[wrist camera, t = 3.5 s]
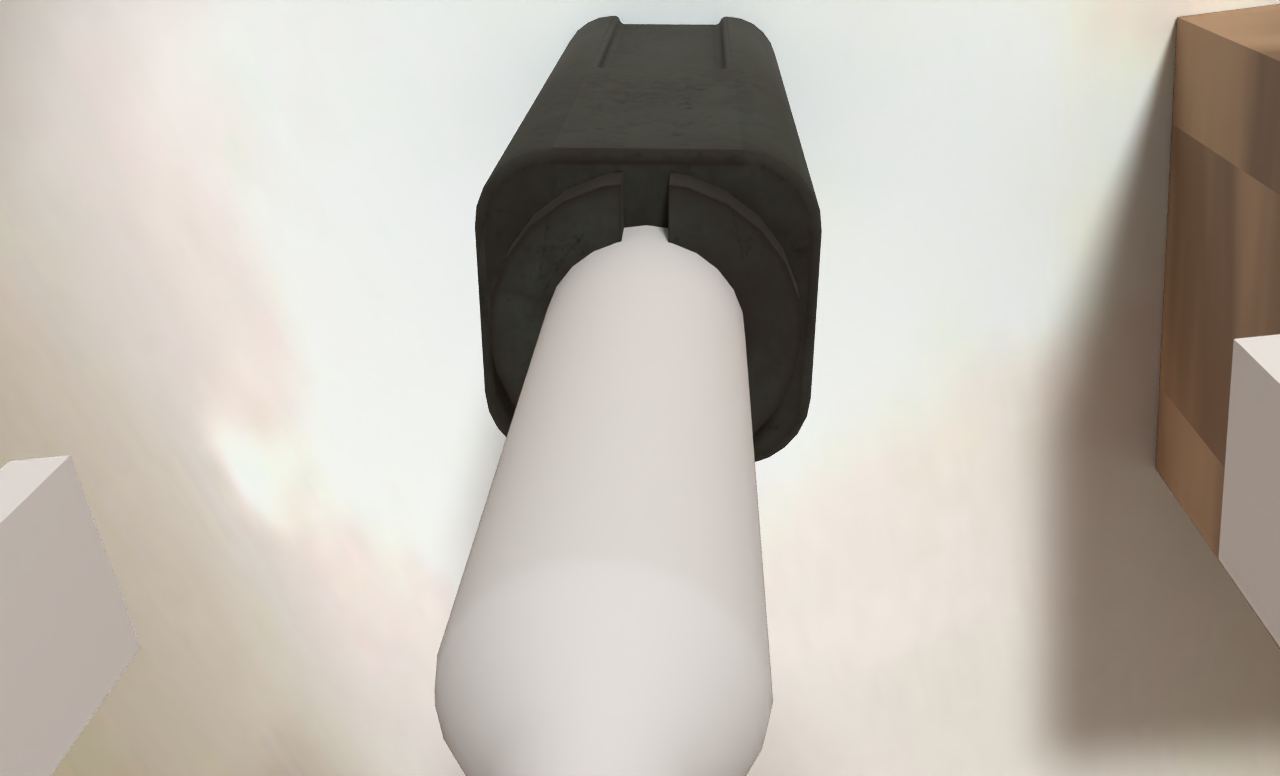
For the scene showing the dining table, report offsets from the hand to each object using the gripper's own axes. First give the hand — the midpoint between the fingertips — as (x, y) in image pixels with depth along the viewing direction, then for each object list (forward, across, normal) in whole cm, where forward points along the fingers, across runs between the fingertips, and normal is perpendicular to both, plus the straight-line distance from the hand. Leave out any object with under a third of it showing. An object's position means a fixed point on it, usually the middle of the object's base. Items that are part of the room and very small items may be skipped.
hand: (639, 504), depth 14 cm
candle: (+18, 0, 0) cm, 18 cm away
